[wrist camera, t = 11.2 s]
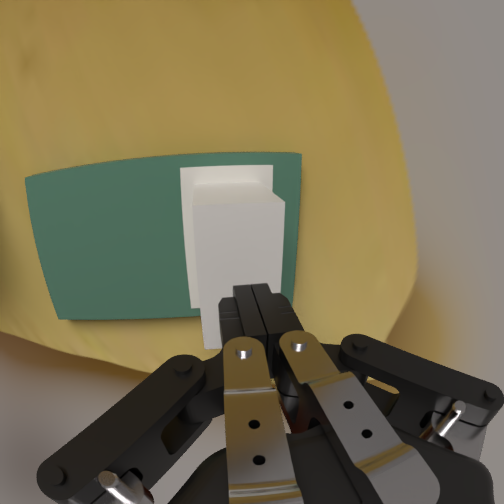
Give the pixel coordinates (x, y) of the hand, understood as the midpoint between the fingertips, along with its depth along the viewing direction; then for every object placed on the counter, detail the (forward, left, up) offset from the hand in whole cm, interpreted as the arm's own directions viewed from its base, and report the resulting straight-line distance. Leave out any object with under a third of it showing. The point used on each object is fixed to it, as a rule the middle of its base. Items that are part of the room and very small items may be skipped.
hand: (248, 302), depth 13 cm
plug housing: (0, 0, -8) cm, 8 cm away
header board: (-5, 0, -9) cm, 11 cm away
